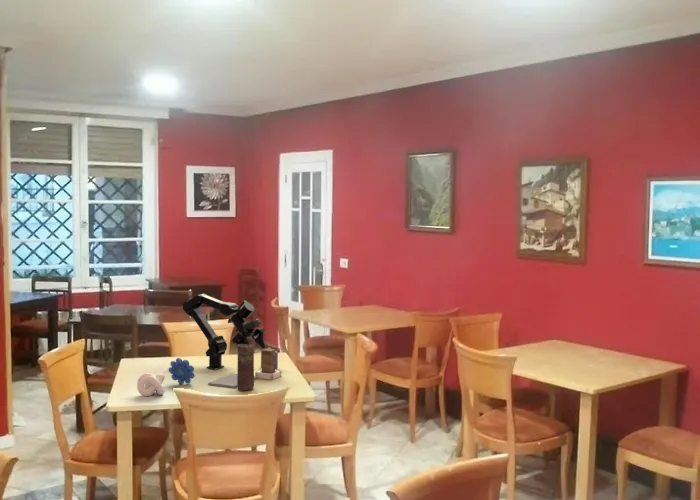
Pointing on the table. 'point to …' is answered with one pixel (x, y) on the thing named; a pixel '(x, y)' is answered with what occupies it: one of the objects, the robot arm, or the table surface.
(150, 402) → the table surface
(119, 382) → the table surface
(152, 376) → the pink knotted tube
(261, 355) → the flask
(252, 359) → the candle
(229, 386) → the serving board
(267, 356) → the brown wooden block
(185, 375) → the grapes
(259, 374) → the socket frame
